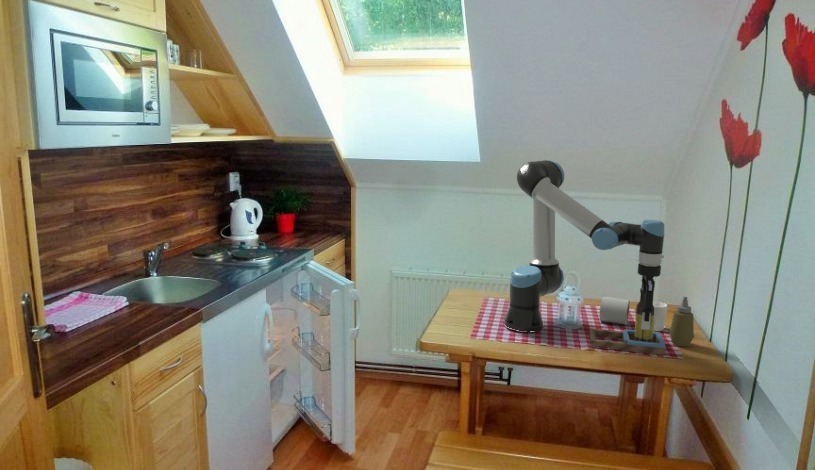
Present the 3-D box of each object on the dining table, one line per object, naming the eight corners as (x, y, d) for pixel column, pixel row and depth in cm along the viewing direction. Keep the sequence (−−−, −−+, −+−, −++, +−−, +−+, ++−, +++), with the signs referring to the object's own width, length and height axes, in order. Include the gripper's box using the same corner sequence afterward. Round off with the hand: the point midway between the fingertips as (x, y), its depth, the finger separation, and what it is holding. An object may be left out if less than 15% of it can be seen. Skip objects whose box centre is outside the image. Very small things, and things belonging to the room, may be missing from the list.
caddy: (590, 347, 211) (591, 337, 211) (589, 334, 224) (590, 325, 223) (664, 354, 205) (665, 345, 204) (659, 341, 217) (660, 332, 217)
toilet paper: (628, 320, 240) (630, 297, 238) (625, 328, 232) (627, 303, 230) (603, 316, 245) (604, 293, 243) (598, 324, 236) (600, 300, 234)
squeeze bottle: (689, 341, 218) (694, 294, 215) (695, 349, 210) (700, 301, 207) (666, 339, 220) (671, 293, 216) (670, 347, 212) (675, 299, 209)
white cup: (667, 332, 227) (669, 307, 225) (645, 331, 228) (647, 306, 227) (662, 325, 234) (665, 301, 233) (641, 324, 236) (644, 300, 234)
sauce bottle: (653, 340, 214) (658, 288, 210) (650, 346, 208) (655, 292, 204) (635, 337, 217) (639, 285, 213) (631, 342, 211) (636, 289, 208)
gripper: (665, 271, 197) (659, 336, 201) (657, 258, 215) (651, 318, 220) (641, 269, 199) (635, 334, 203) (635, 257, 217) (630, 316, 221)
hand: (644, 325), depth 211 cm, fingers closed on sauce bottle, 6 cm apart
